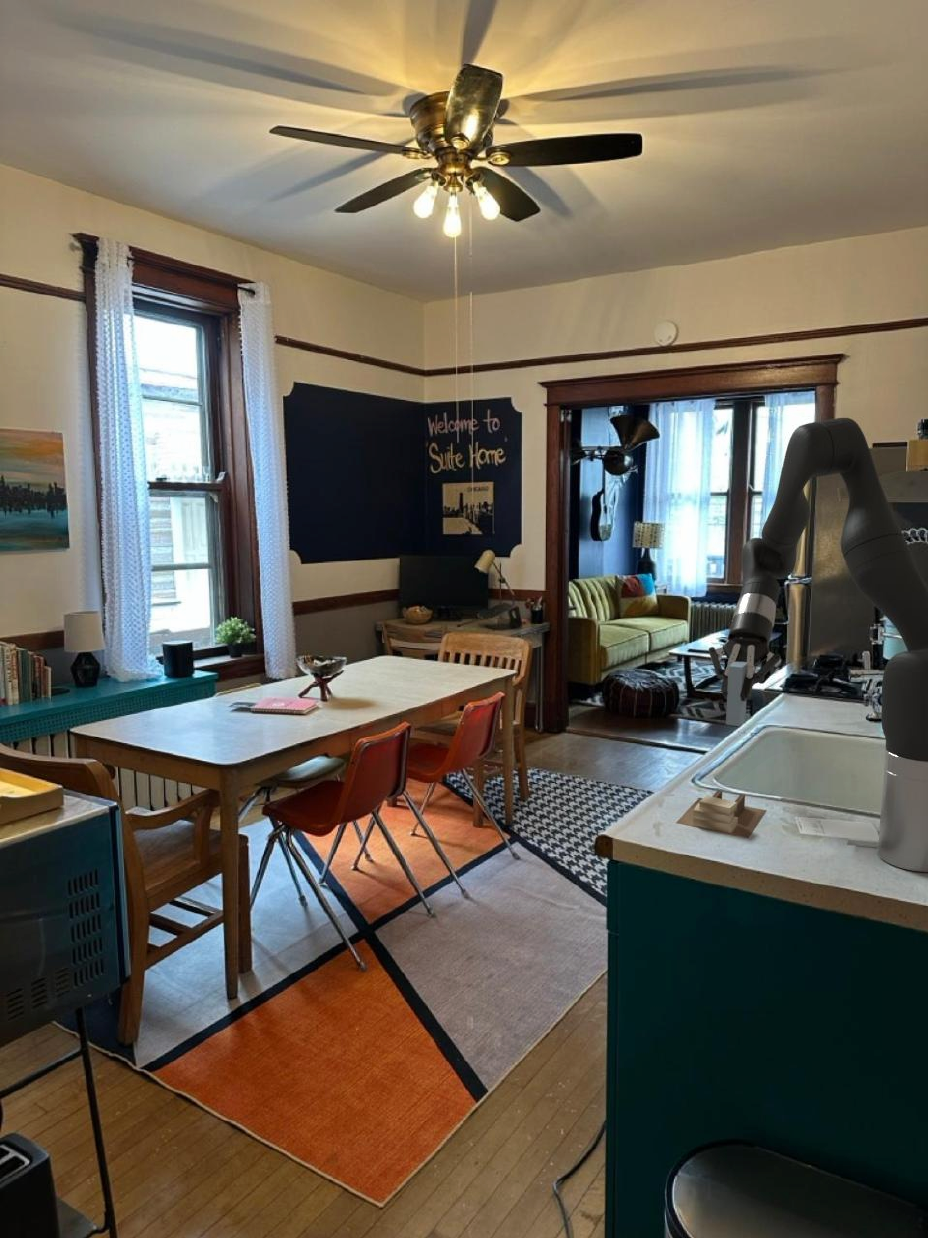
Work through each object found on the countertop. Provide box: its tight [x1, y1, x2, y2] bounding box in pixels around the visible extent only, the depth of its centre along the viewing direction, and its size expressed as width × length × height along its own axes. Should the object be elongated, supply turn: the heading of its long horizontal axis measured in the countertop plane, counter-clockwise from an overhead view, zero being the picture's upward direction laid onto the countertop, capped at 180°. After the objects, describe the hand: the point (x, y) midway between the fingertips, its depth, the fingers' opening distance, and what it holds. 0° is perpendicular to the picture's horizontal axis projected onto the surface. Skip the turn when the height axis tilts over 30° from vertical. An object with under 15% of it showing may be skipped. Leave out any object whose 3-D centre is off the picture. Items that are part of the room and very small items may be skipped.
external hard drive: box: [794, 816, 879, 849], centre depth 135 cm, size 2×8×12 cm
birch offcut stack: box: [693, 795, 738, 833], centre depth 136 cm, size 7×4×4 cm, turn 58°
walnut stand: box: [675, 789, 767, 839], centre depth 140 cm, size 12×14×4 cm
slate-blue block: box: [725, 661, 748, 727], centre depth 149 cm, size 2×5×11 cm, turn 149°
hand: (734, 697), depth 147 cm, fingers closed on slate-blue block, 2 cm apart
